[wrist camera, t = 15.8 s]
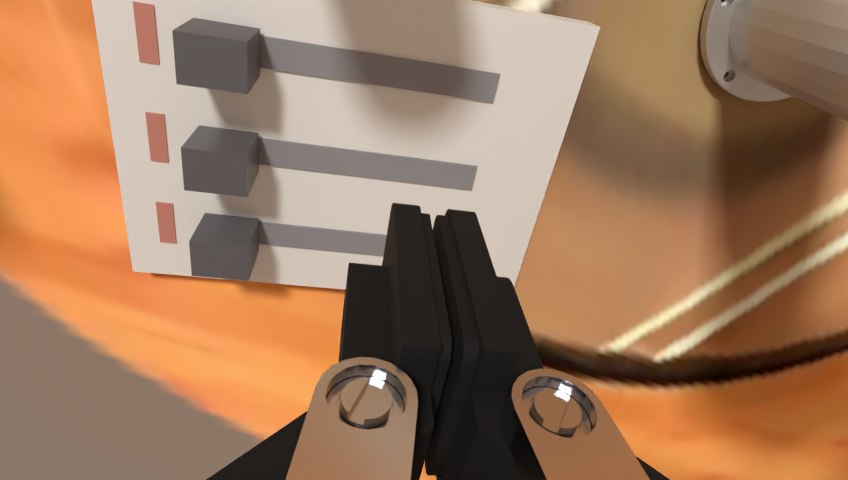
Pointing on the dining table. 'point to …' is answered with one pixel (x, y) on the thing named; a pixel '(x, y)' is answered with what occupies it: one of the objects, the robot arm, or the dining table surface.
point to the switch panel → (334, 125)
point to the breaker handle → (220, 161)
